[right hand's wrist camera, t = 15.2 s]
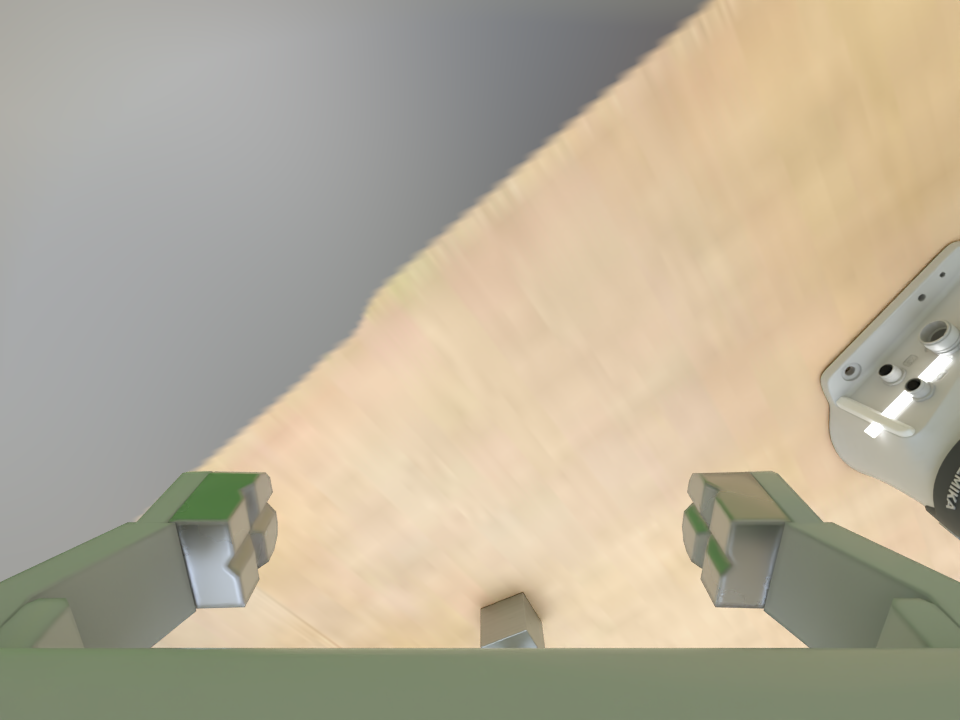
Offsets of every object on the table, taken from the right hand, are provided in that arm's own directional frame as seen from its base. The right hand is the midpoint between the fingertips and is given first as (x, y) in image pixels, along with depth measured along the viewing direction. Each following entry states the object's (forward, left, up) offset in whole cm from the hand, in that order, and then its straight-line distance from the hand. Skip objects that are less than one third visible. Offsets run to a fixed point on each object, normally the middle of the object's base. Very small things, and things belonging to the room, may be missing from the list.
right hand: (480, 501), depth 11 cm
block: (+36, +19, -36) cm, 54 cm away
